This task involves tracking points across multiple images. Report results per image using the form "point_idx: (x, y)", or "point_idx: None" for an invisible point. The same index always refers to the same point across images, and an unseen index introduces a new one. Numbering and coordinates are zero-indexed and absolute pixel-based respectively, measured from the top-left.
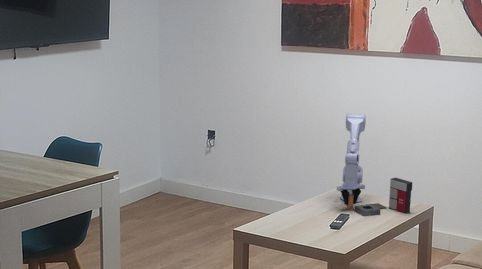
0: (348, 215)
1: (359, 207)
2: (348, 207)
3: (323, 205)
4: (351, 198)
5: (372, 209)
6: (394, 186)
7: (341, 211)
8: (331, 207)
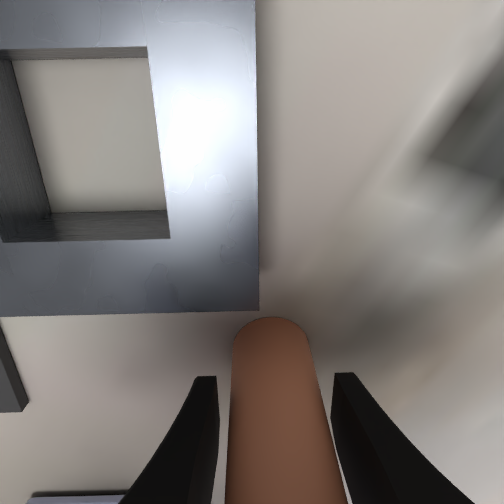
0: (474, 90)
1: (223, 203)
2: (308, 349)
3: (459, 489)
4: (295, 460)
5: None
6: None
7: (432, 291)
8: (433, 431)
